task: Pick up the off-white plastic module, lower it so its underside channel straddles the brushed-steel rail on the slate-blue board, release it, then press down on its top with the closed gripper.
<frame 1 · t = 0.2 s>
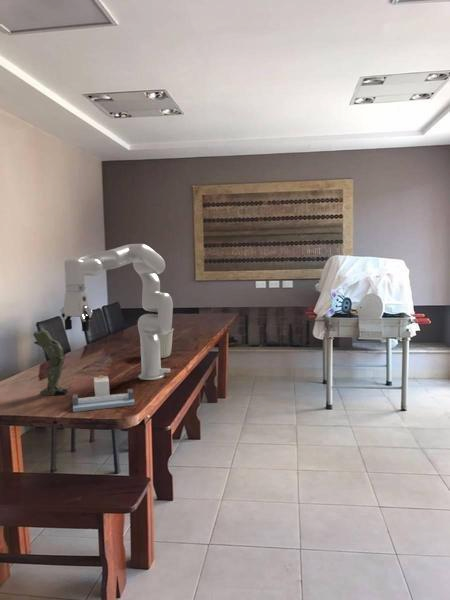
hand: (77, 330, 198), 30 cm above the table, tool pointing down, fingers open, 9 cm apart
rail: (103, 396, 196), on the board, point 3 cm above the table
canister: (159, 357, 285), on the table
green creature figurine: (52, 393, 213), on the table
board: (103, 404, 196), on the table
module: (102, 394, 210), on the table
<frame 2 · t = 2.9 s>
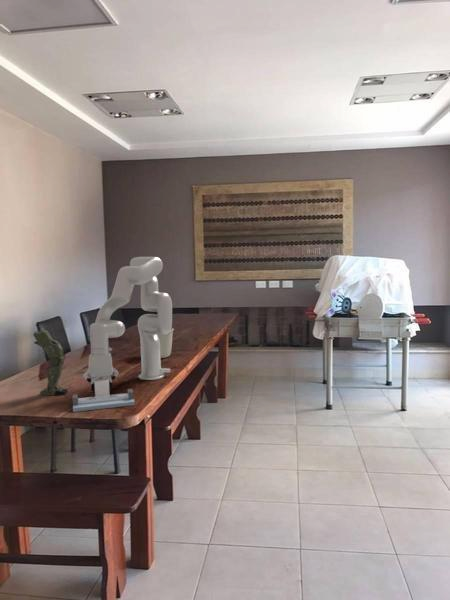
hand: (101, 391, 209), 2 cm above the table, tool pointing down, fingers closed on module, 6 cm apart
module: (102, 394, 210), on the table, touching gripper
everything else where it was.
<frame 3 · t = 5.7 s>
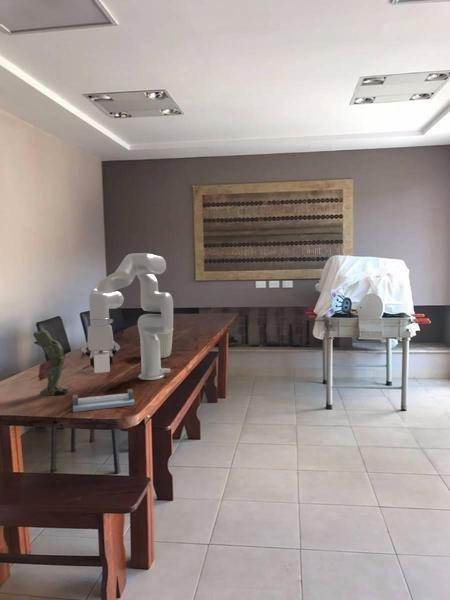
hand: (101, 366, 195), 16 cm above the table, tool pointing down, fingers closed on module, 6 cm apart
module: (101, 369, 195), point 14 cm above the table, touching gripper
everything else where it was.
when the fingers open (4 cm above the table, at t = 8.3 s): module drops 1 cm, resting on board.
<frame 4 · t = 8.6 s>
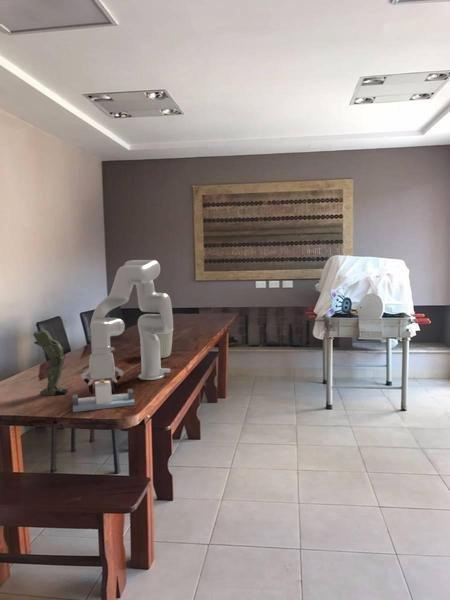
hand: (103, 392, 196), 5 cm above the table, tool pointing down, fingers open, 8 cm apart
module: (103, 400, 196), point 1 cm above the table, touching board
everything else where it was.
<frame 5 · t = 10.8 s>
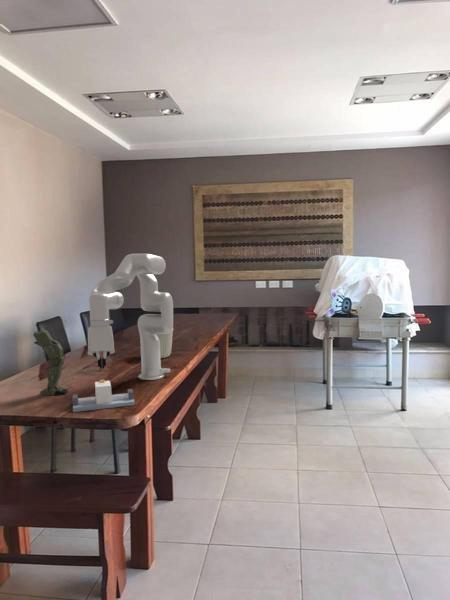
hand: (102, 368, 195), 15 cm above the table, tool pointing down, fingers closed
nothing on the table moved.
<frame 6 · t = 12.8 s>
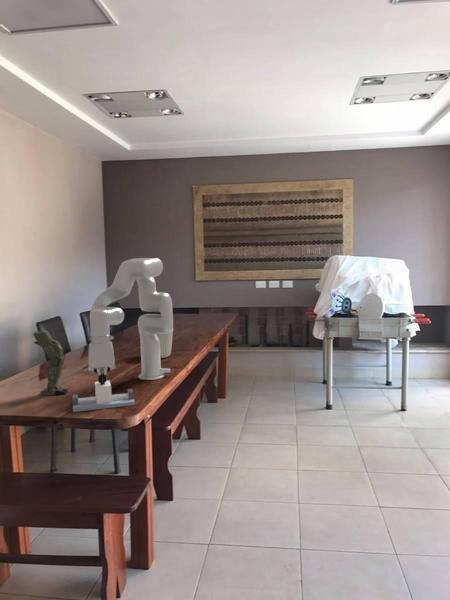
hand: (102, 383, 195), 8 cm above the table, tool pointing down, fingers closed
module: (103, 400, 196), point 1 cm above the table, touching board, gripper
everything else where it was.
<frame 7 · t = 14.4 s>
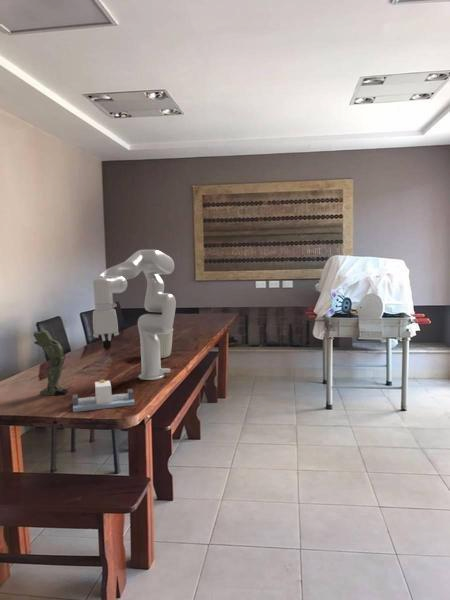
hand: (107, 349, 204), 21 cm above the table, tool pointing down, fingers closed
module: (103, 400, 196), point 1 cm above the table, touching board
everything else where it was.
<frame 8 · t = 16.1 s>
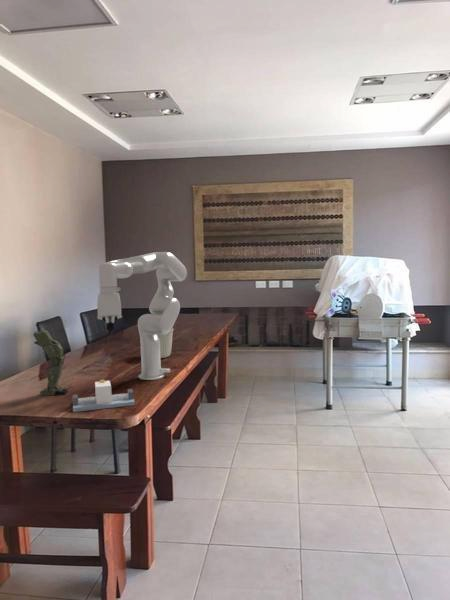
hand: (110, 331, 212), 27 cm above the table, tool pointing down, fingers closed
nothing on the table moved.
at the end: module inside the target area on the board (0.1 cm from its centre), point 1.5 cm above the board's base; module tilted 0°; the gripper is holding nothing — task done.
